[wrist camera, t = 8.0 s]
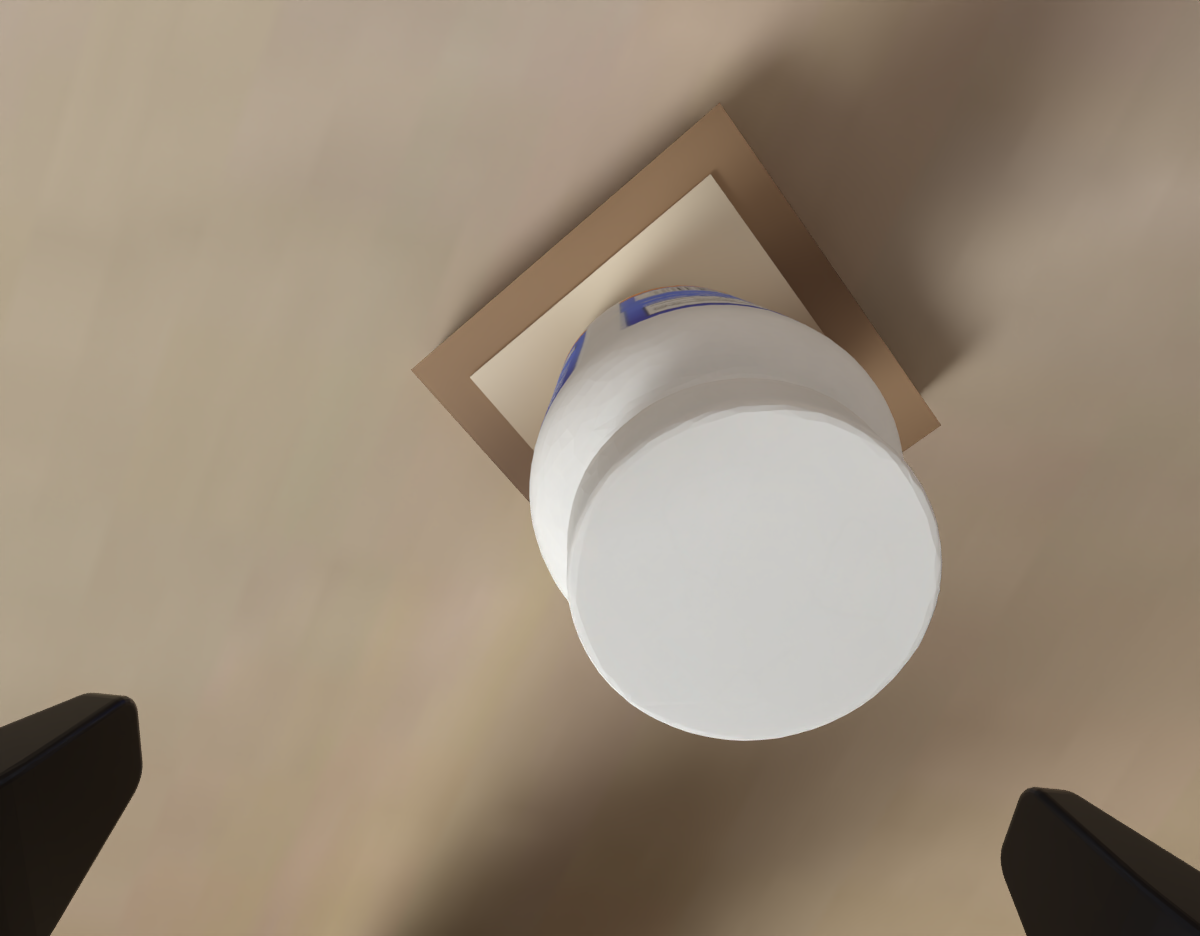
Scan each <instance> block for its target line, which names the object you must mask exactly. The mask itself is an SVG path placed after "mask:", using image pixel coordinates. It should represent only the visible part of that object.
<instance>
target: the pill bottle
mask: <svg viewBox="0 0 1200 936" xmlns="http://www.w3.org/2000/svg"><path fill="white" fill-rule="evenodd" d="M529 498H530V509H531V517H532V523H533V527H534V531H535V535H536V539H537V542H538V545H539V548H540V551H541V554H542V557H543V559H544V561H545V563H546V565H547V567H548V570H549V571H550V573H551V575H552V577H553V579H554V581H555V583H556V585H557V586H558V588H559V589H560V591H561V592H562V593H563V595H564V596H565V598H566V599H567V600H568V601H569V606H570V610H571V614H572V619H573V622H574V625H575V628H576V631H577V633H578V636H579V638H580V640H581V643H582V645H583V647H584V649H585V651H586V653H587V655H588V656H589V658H590V660H591V661H592V663H593V664H594V666H595V667H596V669H597V670H598V672H599V673H600V674H601V675H602V676H603V678H604V679H605V680H606V681H607V682H608V683H609V685H610V686H611V687H612V688H614V689H615V690H616V691H617V692H618V693H619V694H620V695H621V696H623V697H624V698H625V699H626V700H627V701H628V702H629V703H630V704H632V705H633V706H635V707H636V708H638V709H639V710H641V711H642V712H644V713H646V714H648V715H649V716H651V717H653V718H655V719H657V720H659V721H661V722H663V723H666V724H668V725H670V726H672V727H675V728H678V729H681V730H684V731H686V732H689V733H693V734H697V735H701V736H706V737H712V738H718V739H726V740H742V741H748V740H764V739H775V738H781V737H785V736H789V735H795V734H799V733H802V732H804V731H809V730H813V729H815V728H818V727H820V726H823V725H825V724H828V723H830V722H832V721H834V720H836V719H838V718H840V717H842V716H844V715H846V714H848V713H850V712H852V711H853V710H855V709H857V708H858V707H860V706H862V705H863V704H864V703H866V702H867V701H869V700H870V699H871V698H873V697H874V696H875V695H876V694H877V693H879V692H880V691H881V690H882V689H883V688H884V687H885V686H886V685H887V684H888V683H889V682H890V681H891V680H892V679H893V678H894V677H895V676H896V675H897V674H898V673H899V671H900V670H901V669H902V668H903V667H904V665H905V664H906V663H907V662H908V660H909V659H910V658H911V656H912V655H913V653H914V652H915V650H916V649H917V648H918V646H919V645H920V643H921V641H922V639H923V637H924V634H925V632H926V630H927V628H928V626H929V623H930V621H931V618H932V616H933V613H934V610H935V607H936V603H937V598H938V594H939V592H940V581H941V571H942V555H941V543H940V537H939V531H938V526H937V521H936V518H935V515H934V512H933V509H932V506H931V504H930V502H929V499H928V497H927V495H926V493H925V491H924V489H923V486H922V485H921V483H920V482H919V480H918V479H917V477H916V476H915V474H914V472H913V471H912V469H911V468H910V467H909V465H908V464H907V463H906V462H905V461H904V459H903V453H902V448H901V443H900V439H899V434H898V431H897V427H896V424H895V421H894V418H893V416H892V414H891V411H890V409H889V407H888V405H887V403H886V401H885V399H884V397H883V395H882V394H881V392H880V390H879V389H878V387H877V386H876V384H875V383H874V382H873V380H872V379H871V378H870V376H869V375H868V374H867V372H866V371H865V370H864V369H863V368H862V367H861V365H860V364H859V363H858V362H857V361H856V360H855V359H854V358H853V357H852V356H851V355H850V354H848V353H847V352H846V351H845V350H844V349H842V348H841V347H840V346H839V345H837V344H836V343H835V342H833V341H832V340H831V339H829V338H828V337H826V336H825V335H823V334H821V333H819V332H818V331H816V330H814V329H812V328H810V327H808V326H807V325H805V324H803V323H800V322H798V321H796V320H794V319H792V318H790V317H787V316H785V315H782V314H780V313H777V312H775V311H772V310H769V309H767V308H764V307H761V306H758V305H756V304H753V303H750V302H748V301H745V300H742V299H740V298H738V297H735V296H732V295H729V294H727V293H725V292H722V291H719V290H714V289H709V288H704V287H698V286H683V285H677V286H667V287H660V288H655V289H651V290H646V291H643V292H641V293H638V294H635V295H633V296H630V297H628V298H626V299H624V300H622V301H620V302H618V303H617V304H615V305H614V306H612V307H610V308H609V309H607V310H606V311H605V312H604V313H602V314H601V315H600V316H599V317H597V318H596V319H595V320H594V321H593V322H592V323H591V324H590V325H589V326H588V327H587V328H586V329H585V331H584V332H583V333H582V334H581V336H580V337H579V338H578V339H577V341H576V342H575V344H574V345H573V347H572V348H571V350H570V352H569V354H568V356H567V358H566V360H565V362H564V365H563V367H562V370H561V373H560V376H559V379H558V382H557V385H556V388H555V390H554V393H553V396H552V399H551V401H550V404H549V407H548V409H547V412H546V415H545V417H544V420H543V423H542V425H541V428H540V432H539V435H538V438H537V442H536V445H535V449H534V455H533V460H532V464H531V473H530V489H529Z"/></svg>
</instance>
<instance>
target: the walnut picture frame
mask: <svg viewBox="0 0 1200 936" xmlns="http://www.w3.org/2000/svg"><path fill="white" fill-rule="evenodd" d="M677 285H683V286H698V287H704V288H709V289H714V290H719V291H722V292H725V293H727V294H729V295H732V296H735V297H738V298H740V299H742V300H745V301H748V302H750V303H753V304H756V305H758V306H761V307H764V308H767V309H769V310H772V311H775V312H777V313H780V314H782V315H785V316H787V317H790V318H792V319H794V320H796V321H798V322H800V323H803V324H805V325H807V326H808V327H810V328H812V329H814V330H816V331H818V332H819V333H821V334H823V335H825V336H826V337H828V338H829V339H831V340H832V341H833V342H835V343H836V344H837V345H839V346H840V347H841V348H842V349H844V350H845V351H846V352H847V353H848V354H850V355H851V356H852V357H853V358H854V359H855V360H856V361H857V362H858V363H859V364H860V365H861V367H862V368H863V369H864V370H865V371H866V372H867V374H868V375H869V376H870V378H871V379H872V380H873V382H874V383H875V384H876V386H877V387H878V389H879V390H880V392H881V394H882V395H883V397H884V399H885V401H886V403H887V405H888V407H889V409H890V411H891V414H892V416H893V418H894V421H895V424H896V427H897V431H898V434H899V439H900V443H901V448H902V452H903V451H905V450H906V449H908V448H909V447H911V446H912V445H913V444H915V443H916V442H918V441H919V440H921V439H922V438H924V437H925V436H926V435H928V434H929V433H931V432H932V431H934V430H935V429H936V428H938V427H939V426H941V424H940V423H939V421H938V420H937V419H936V417H935V416H934V414H933V413H932V411H931V410H930V408H929V407H928V405H927V404H926V403H925V401H924V400H923V398H922V397H921V395H920V394H919V392H918V391H917V389H916V388H915V387H914V385H913V384H912V382H911V381H910V379H909V378H908V376H907V375H906V373H905V372H904V370H903V369H902V368H901V366H900V365H899V363H898V362H897V360H896V359H895V357H894V356H893V354H892V353H891V352H890V350H889V349H888V347H887V346H886V344H885V343H884V341H883V340H882V338H881V337H880V336H879V334H878V333H877V331H876V330H875V328H874V327H873V325H872V324H871V322H870V321H869V319H868V318H867V317H866V315H865V314H864V312H863V311H862V309H861V308H860V306H859V305H858V303H857V302H856V301H855V299H854V298H853V296H852V295H851V293H850V292H849V290H848V289H847V287H846V286H845V285H844V283H843V282H842V280H841V279H840V277H839V276H838V274H837V273H836V271H835V270H834V268H833V267H832V266H831V264H830V263H829V261H828V260H827V258H826V257H825V255H824V254H823V252H822V251H821V250H820V248H819V247H818V245H817V244H816V242H815V241H814V239H813V238H812V236H811V235H810V234H809V232H808V231H807V229H806V228H805V226H804V225H803V223H802V222H801V220H800V219H799V217H798V216H797V215H796V213H795V212H794V210H793V209H792V207H791V206H790V204H789V203H788V201H787V200H786V199H785V197H784V196H783V194H782V193H781V191H780V190H779V188H778V187H777V185H776V184H775V183H774V181H773V180H772V178H771V177H770V175H769V174H768V172H767V171H766V169H765V168H764V166H763V165H762V164H761V162H760V161H759V159H758V158H757V156H756V155H755V153H754V152H753V150H752V149H751V148H750V146H749V145H748V143H747V142H746V140H745V139H744V137H743V136H742V134H741V133H740V132H739V130H738V129H737V127H736V126H735V124H734V123H733V121H732V120H731V118H730V117H729V115H728V114H727V113H726V111H725V110H724V108H723V107H722V105H721V104H720V103H719V104H718V105H716V106H715V107H714V108H713V109H712V110H711V111H709V112H708V113H707V114H706V115H705V116H704V117H703V118H701V119H700V120H699V121H698V122H697V123H696V124H694V125H693V126H692V127H691V128H690V129H689V130H688V131H686V132H685V133H684V134H683V135H682V136H681V137H679V138H678V139H677V140H676V141H675V142H674V143H673V144H671V145H670V146H669V147H668V148H667V149H666V150H664V151H663V152H662V153H661V154H660V155H659V156H657V157H656V158H655V159H654V160H653V161H652V162H651V163H649V164H648V165H647V166H646V167H645V168H644V169H642V170H641V171H640V172H639V173H638V174H637V175H636V176H634V177H633V178H632V179H631V180H630V181H629V182H627V183H626V184H625V185H624V186H623V187H622V188H621V189H619V190H618V191H617V192H616V193H615V194H614V195H612V196H611V197H610V198H609V199H608V200H607V201H606V202H604V203H603V204H602V205H601V206H600V207H599V208H597V209H596V210H595V211H594V212H593V213H592V214H590V215H589V216H588V217H587V218H586V219H585V220H584V221H582V222H581V223H580V224H579V225H578V226H577V227H575V228H574V229H573V230H572V231H571V232H570V233H569V234H567V235H566V236H565V237H564V238H563V239H562V240H560V241H559V242H558V243H557V244H556V245H555V246H554V247H552V248H551V249H550V250H549V251H548V252H547V253H545V254H544V255H543V256H542V257H541V258H540V259H539V260H537V261H536V262H535V263H534V264H533V265H532V266H530V267H529V268H528V269H527V270H526V271H525V272H523V273H522V274H521V275H520V276H519V277H518V278H517V279H515V280H514V281H513V282H512V283H511V284H510V285H508V286H507V287H506V288H505V289H504V290H503V291H502V292H500V293H499V294H498V295H497V296H496V297H495V298H493V299H492V300H491V301H490V302H489V303H488V304H487V305H485V306H484V307H483V308H482V309H481V310H480V311H478V312H477V313H476V314H475V315H474V316H473V317H472V318H470V319H469V320H468V321H467V322H466V323H465V324H463V325H462V326H461V327H460V328H459V329H458V330H456V331H455V332H454V333H453V334H452V335H451V336H450V337H448V338H447V339H446V340H445V341H444V342H443V343H441V344H440V345H439V346H438V347H437V348H436V349H435V350H433V351H432V352H431V353H430V354H429V355H428V356H426V357H425V358H424V359H423V360H422V361H421V362H420V363H418V364H417V365H416V366H415V367H414V368H413V369H411V370H412V372H413V373H414V374H415V375H416V376H417V377H418V378H419V379H420V380H421V382H422V383H423V384H424V385H425V386H426V387H427V388H428V389H429V391H430V392H431V393H432V394H433V395H434V396H435V397H436V398H437V399H438V401H439V402H440V403H441V404H442V405H443V406H444V407H445V408H446V410H447V411H448V412H449V413H450V414H451V415H452V416H453V417H454V418H455V420H456V421H457V422H458V423H459V424H460V425H461V426H462V427H463V429H464V430H465V431H466V432H467V433H468V434H469V435H470V436H471V437H472V439H473V440H474V441H475V442H476V443H477V444H478V445H479V446H480V447H481V449H482V450H483V451H484V452H485V453H486V454H487V455H488V456H489V458H490V459H491V460H492V461H493V462H494V463H495V464H496V465H497V466H498V468H499V469H500V470H501V471H502V472H503V473H504V474H505V475H506V477H507V478H508V479H509V480H510V481H511V482H512V483H513V484H514V485H515V487H516V488H517V489H518V490H519V491H520V492H521V493H522V494H523V496H524V497H525V498H526V499H527V500H528V501H529V502H530V498H529V489H530V473H531V464H532V460H533V455H534V449H535V445H536V442H537V438H538V435H539V432H540V428H541V425H542V423H543V420H544V417H545V415H546V412H547V409H548V407H549V404H550V401H551V399H552V396H553V393H554V390H555V388H556V385H557V382H558V379H559V376H560V373H561V370H562V367H563V365H564V362H565V360H566V358H567V356H568V354H569V352H570V350H571V348H572V347H573V345H574V344H575V342H576V341H577V339H578V338H579V337H580V336H581V334H582V333H583V332H584V331H585V329H586V328H587V327H588V326H589V325H590V324H591V323H592V322H593V321H594V320H595V319H596V318H597V317H599V316H600V315H601V314H602V313H604V312H605V311H606V310H607V309H609V308H610V307H612V306H614V305H615V304H617V303H618V302H620V301H622V300H624V299H626V298H628V297H630V296H633V295H635V294H638V293H641V292H643V291H646V290H651V289H655V288H660V287H667V286H677Z"/></svg>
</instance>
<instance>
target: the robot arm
mask: <svg viewBox="0 0 1200 936" xmlns="http://www.w3.org/2000/svg"><path fill="white" fill-rule="evenodd" d="M141 774H142V752H141V741H140V730H139V720H138V711H137V706H136V704H135V702H134V701H133V700H132V699H131V698H129V697H127V696H121V695H111V694H101V693H87V694H83V695H80V696H77V697H75V698H72V699H70V700H67V701H65V702H62V703H60V704H57V705H55V706H52V707H50V708H47V709H45V710H43V711H40V712H38V713H35V714H33V715H30V716H28V717H25V718H23V719H20V720H18V721H15V722H13V723H10V724H8V725H5V726H3V727H0V936H50V935H51V933H52V931H53V930H54V928H55V927H56V925H57V923H58V922H59V920H60V918H61V917H62V915H63V913H64V912H65V910H66V908H67V906H68V905H69V903H70V901H71V900H72V898H73V896H74V895H75V893H76V891H77V890H78V888H79V886H80V884H81V883H82V881H83V879H84V878H85V876H86V874H87V873H88V871H89V869H90V867H91V866H92V864H93V862H94V861H95V859H96V857H97V856H98V854H99V852H100V851H101V849H102V847H103V845H104V844H105V842H106V840H107V839H108V837H109V835H110V834H111V832H112V830H113V829H114V827H115V825H116V823H117V822H118V820H119V818H120V817H121V815H122V813H123V812H124V810H125V808H126V807H127V805H128V803H129V801H130V800H131V798H132V796H133V795H134V793H135V791H136V789H137V786H138V784H139V781H140V778H141ZM1001 866H1002V871H1003V875H1004V878H1005V881H1006V884H1007V886H1008V889H1009V891H1010V894H1011V897H1012V899H1013V902H1014V904H1015V907H1016V909H1017V912H1018V915H1019V917H1020V920H1021V922H1022V925H1023V928H1024V930H1025V933H1026V935H1027V936H1200V871H1198V870H1197V869H1195V868H1193V867H1192V866H1190V865H1189V864H1187V863H1185V862H1184V861H1182V860H1181V859H1179V858H1177V857H1176V856H1174V855H1173V854H1171V853H1169V852H1168V851H1166V850H1165V849H1163V848H1161V847H1160V846H1158V845H1157V844H1155V843H1153V842H1152V841H1150V840H1149V839H1147V838H1145V837H1144V836H1142V835H1141V834H1139V833H1137V832H1136V831H1134V830H1133V829H1131V828H1129V827H1128V826H1126V825H1125V824H1123V823H1121V822H1120V821H1118V820H1117V819H1115V818H1113V817H1112V816H1110V815H1109V814H1107V813H1105V812H1104V811H1102V810H1101V809H1099V808H1097V807H1096V806H1094V805H1093V804H1091V803H1089V802H1088V801H1086V800H1085V799H1083V798H1081V797H1080V796H1078V795H1076V794H1074V793H1072V792H1070V791H1066V790H1059V789H1049V788H1039V787H1032V788H1028V789H1026V790H1025V791H1024V792H1023V793H1022V794H1021V796H1020V798H1019V800H1018V803H1017V806H1016V809H1015V812H1014V814H1013V817H1012V820H1011V823H1010V826H1009V828H1008V831H1007V834H1006V837H1005V840H1004V843H1003V845H1002V849H1001Z"/></svg>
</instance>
